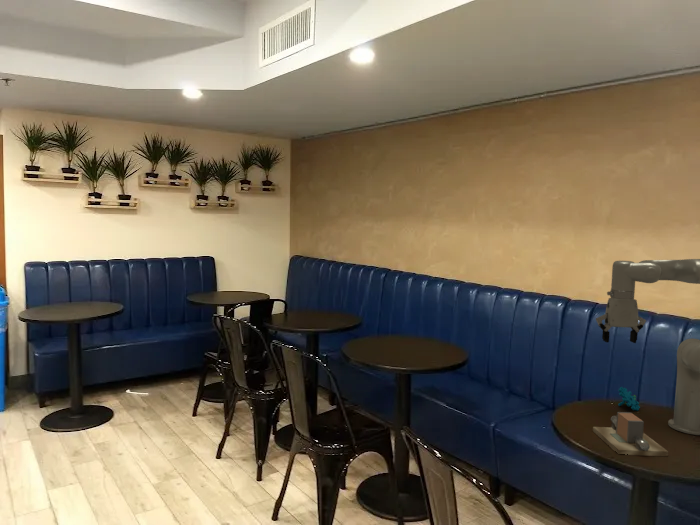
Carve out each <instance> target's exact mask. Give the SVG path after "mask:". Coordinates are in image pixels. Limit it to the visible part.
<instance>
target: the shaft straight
mask: <svg viewBox="0 0 700 525" xmlns="http://www.w3.org/2000/svg"><path fill="white" fill-rule="evenodd" d="M633 442H634V443H635V444H636V442H637V443H638V444H639V445H640V448H641V449H643V450H644V451H646V450H648V449H649V447H650V446H649V444H648V443H646V442H645V441H644V440H643V439H641V438H640V437H639V436H636V437H634V438H633Z"/></svg>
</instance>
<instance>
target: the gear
mask: <svg viewBox="0 0 700 525" xmlns="http://www.w3.org/2000/svg"><path fill="white" fill-rule="evenodd" d="M617 391H618V392H619V393H618V394H619V396H620V397H622V398H621V399H622V401H620V402H619V403H618V404H617V405H618V407H620V406H623V405H624V404H625V405H626V406H627V407H630V408H631V410H632V411H636V412H638V411H639V410H640V408H641V406H640V402H639V401H638V400H637V396H636V395H635V394H633V395H632V391H631V390H629V391H628V389H627V388H626V387H623V386H621V387H619V388H618V389H617Z"/></svg>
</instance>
